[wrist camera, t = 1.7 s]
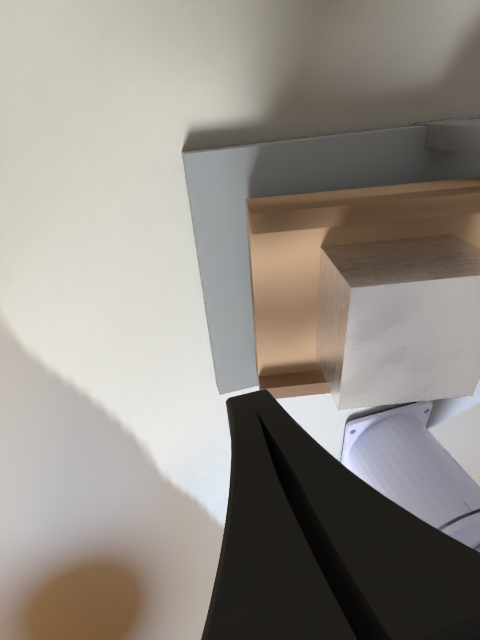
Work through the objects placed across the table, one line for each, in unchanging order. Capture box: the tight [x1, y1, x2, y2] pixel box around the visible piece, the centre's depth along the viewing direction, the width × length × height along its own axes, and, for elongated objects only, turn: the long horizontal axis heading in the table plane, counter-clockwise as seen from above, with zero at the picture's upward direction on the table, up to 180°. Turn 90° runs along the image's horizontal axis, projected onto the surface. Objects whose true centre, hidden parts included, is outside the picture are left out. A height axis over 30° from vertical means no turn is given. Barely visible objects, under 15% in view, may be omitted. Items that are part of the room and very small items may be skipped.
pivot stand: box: [182, 118, 480, 401], centre depth 19 cm, size 14×26×6 cm, turn 94°
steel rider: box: [315, 234, 480, 410], centre depth 15 cm, size 6×6×4 cm
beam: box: [245, 177, 480, 399], centre depth 17 cm, size 11×22×3 cm, turn 94°
